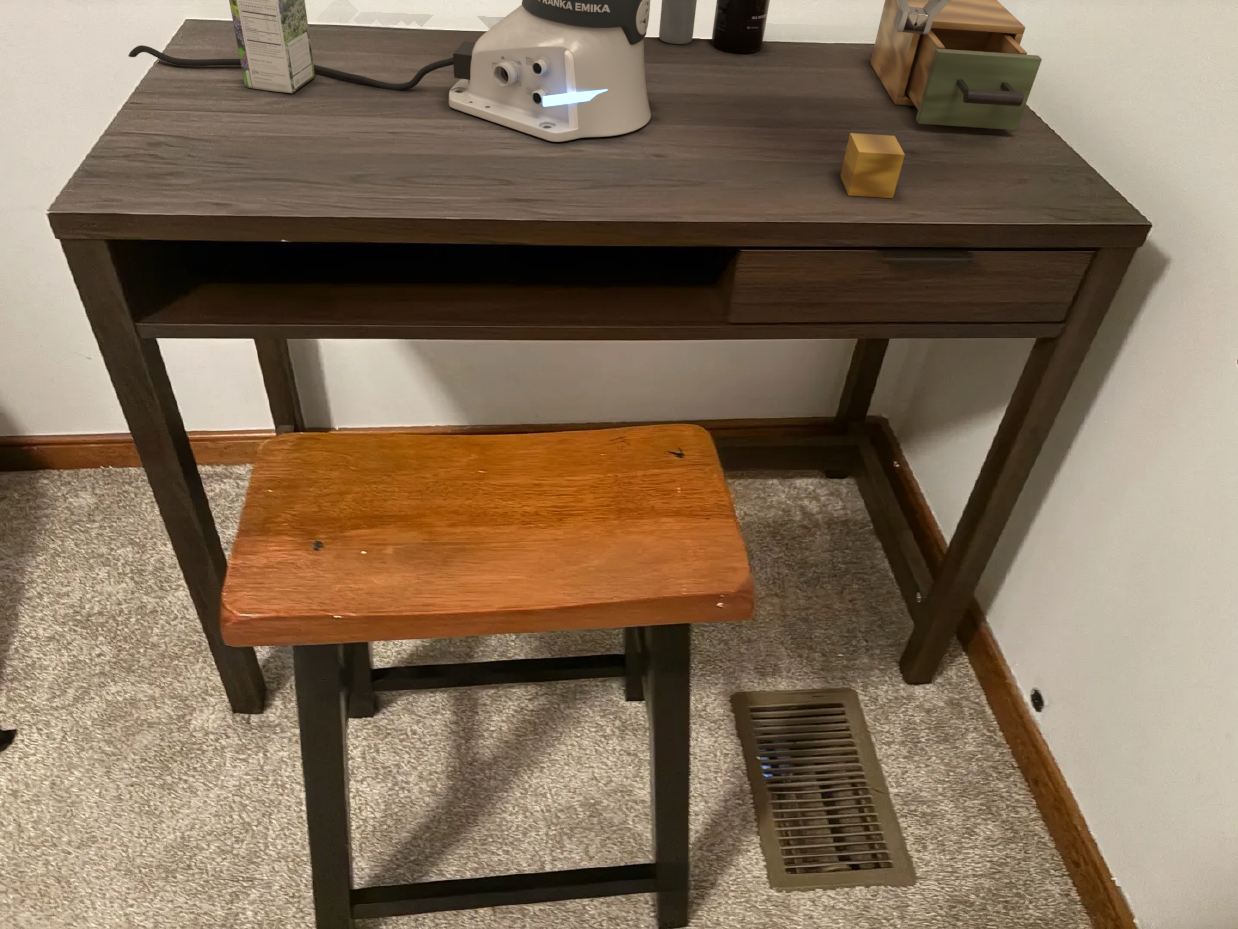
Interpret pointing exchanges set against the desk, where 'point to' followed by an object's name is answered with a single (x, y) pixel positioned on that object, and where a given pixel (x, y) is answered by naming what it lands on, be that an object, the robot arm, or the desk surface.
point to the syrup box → (273, 43)
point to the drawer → (971, 79)
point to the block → (872, 165)
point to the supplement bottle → (740, 25)
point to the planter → (677, 21)
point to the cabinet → (964, 12)
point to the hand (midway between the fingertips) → (910, 31)
